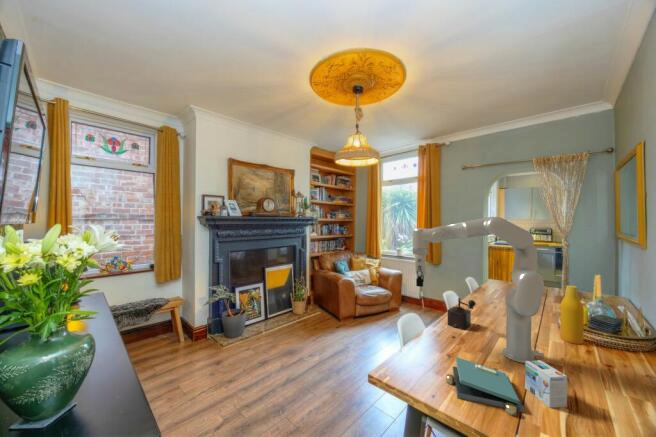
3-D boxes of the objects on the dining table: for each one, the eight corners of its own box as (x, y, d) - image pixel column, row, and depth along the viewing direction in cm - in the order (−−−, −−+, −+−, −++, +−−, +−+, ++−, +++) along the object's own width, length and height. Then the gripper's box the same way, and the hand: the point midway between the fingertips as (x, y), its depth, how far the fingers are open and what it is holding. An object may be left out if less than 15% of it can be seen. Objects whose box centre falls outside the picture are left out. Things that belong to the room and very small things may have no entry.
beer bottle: (556, 338, 142) (556, 285, 142) (564, 335, 147) (565, 283, 147) (579, 346, 134) (579, 289, 134) (586, 342, 138) (587, 287, 138)
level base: (505, 377, 108) (505, 371, 108) (526, 419, 85) (526, 411, 85) (444, 365, 116) (444, 360, 116) (448, 401, 93) (448, 394, 93)
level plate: (504, 375, 105) (506, 369, 105) (518, 404, 89) (520, 396, 89) (455, 359, 111) (456, 353, 111) (460, 383, 95) (461, 376, 95)
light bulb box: (524, 388, 101) (524, 360, 101) (540, 387, 101) (540, 359, 101) (550, 408, 90) (550, 377, 90) (568, 407, 91) (568, 376, 91)
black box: (446, 325, 160) (446, 295, 160) (453, 320, 167) (453, 292, 167) (474, 333, 149) (474, 301, 149) (480, 328, 156) (480, 297, 156)
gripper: (427, 254, 129) (427, 288, 129) (427, 250, 145) (427, 281, 145) (411, 253, 131) (411, 287, 131) (413, 249, 148) (413, 279, 148)
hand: (420, 284), depth 138 cm, fingers open, 9 cm apart
